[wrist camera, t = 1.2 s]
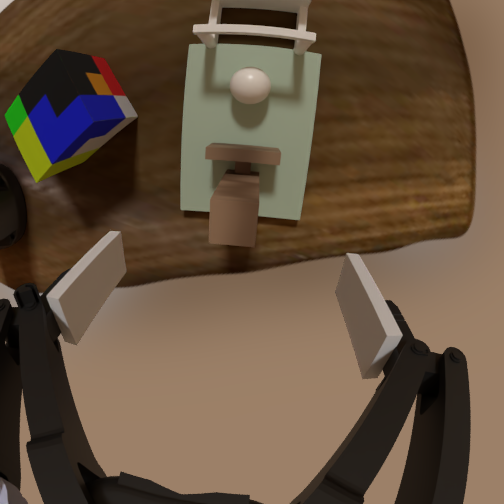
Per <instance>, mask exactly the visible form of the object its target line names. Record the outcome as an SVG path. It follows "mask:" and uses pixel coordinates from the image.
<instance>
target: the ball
mask: <svg viewBox="0 0 504 504" xmlns="http://www.w3.org/2000/svg"><path fill="white" fill-rule="evenodd" d="M270 90H271V82H270V79H269V77H268V75H267V74H266V73H265V72H264V71H263V70H261V69H259V68H256V67H244V68H241V69H239V70H238V71H237V72H235V73H234V75H233V76H232V78H231V80H230V91H231V93H232V95H233V97H234V98H235V99H236V100H238V101H239V102H241V103H244V104H256V103H259V102H261V101H263V100H264V99H265V98H266V97H267V96H268V94H269V93H270Z"/></svg>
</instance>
